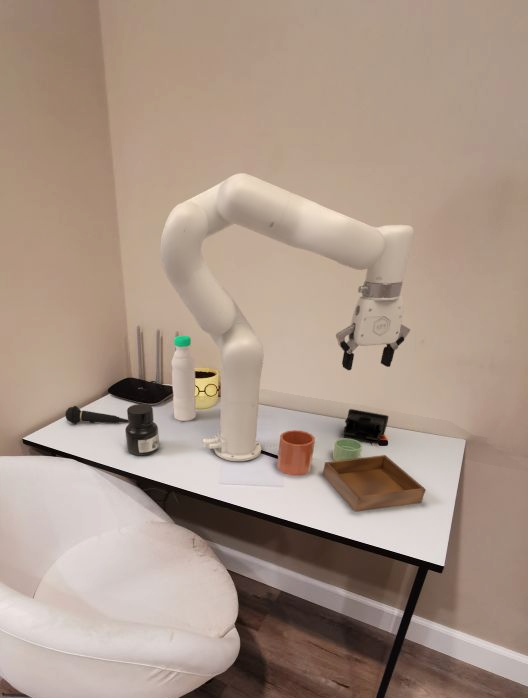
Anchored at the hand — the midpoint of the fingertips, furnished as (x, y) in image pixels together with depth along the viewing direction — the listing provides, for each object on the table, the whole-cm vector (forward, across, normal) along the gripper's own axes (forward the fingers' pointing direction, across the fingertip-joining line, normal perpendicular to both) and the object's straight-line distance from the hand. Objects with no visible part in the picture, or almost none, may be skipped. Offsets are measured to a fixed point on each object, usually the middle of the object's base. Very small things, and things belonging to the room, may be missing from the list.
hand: (366, 366), depth 104 cm
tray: (+22, -5, -20) cm, 30 cm away
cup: (+22, -18, -8) cm, 30 cm away
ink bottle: (+22, -55, +11) cm, 60 cm away
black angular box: (+22, +6, +5) cm, 23 cm away
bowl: (+22, -4, -6) cm, 23 cm away
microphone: (+22, -68, +30) cm, 78 cm away
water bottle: (+22, -40, +29) cm, 54 cm away
